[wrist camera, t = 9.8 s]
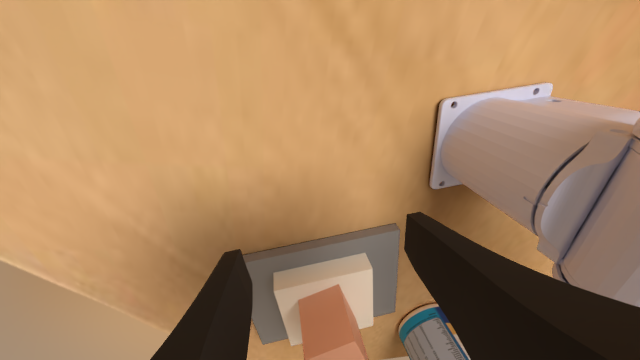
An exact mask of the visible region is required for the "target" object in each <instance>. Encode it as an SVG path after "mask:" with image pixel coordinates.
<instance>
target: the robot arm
mask: <svg viewBox="0 0 640 360" xmlns="http://www.w3.org/2000/svg"><path fill="white" fill-rule="evenodd" d="M552 89H553V85H552V83H546V82H545V83H539V84H532V85H526V86H520V87H514V88H508V89H501V90H495V91H489V92H483V93H477V94H470V95H464V96H458V97H452V98H446V99H444V100H442V101H441V103H440V105H439V112H438V120H437V128H436V136H435V144H434V152H433V160H432V168H431V177H430V187H431V188H432V189H440V188H445V187H450V186H455V185H460V184H464V185H465V186H467V187H468V188H470V189H471V190H472V191H474V192H475V193H477V194H478V195H480V196H481V197H482V198H484V199H485V200H487V201H488V202H490V203H491V204H492V205H494V206H495V207H497V208H498V209H500V210H501V211H503V212H504V213H505V214H507V215H508V216H510V217H511V218H513V219H514V220H515V221H517V222H518V223H520V224H521V225H523V226H524V227H525V228H527V229H528V230H530V231H531V232H533V233H534V234H535V235H537V236H538V237H539V243H538V246H537V250H539V251H540V252H541V253H543V254H544V255H545V256H547V257H548V258H549V259H551V260H552V261H553V262H554V264H553V268H552V274H553V278H552V277H549V276H547V275H544V274H542V273H539V272H537V271H534V270H532V269H530V268H527V267H525V266H523V265H520V264H518V263H516V262H513V261H511V260H509V259H507V258H505V257H503V256H500V255H498V254H496V253H494V252H492V251H490V250H488V249H486V248H484V247H482V246H481V245H479V244H477V243H475V242H473V241H471V240H469V239H467V238H466V237H464V236H462V235H460V234H458V233H457V232H455V231H453V230H451V229H450V228H448V227H446V226H444V225H443V224H441V223H439V222H437V221H436V220H434V219H432V218H430V217H429V216H427V215H425V214H423V213H421V212H417V213H412V214H407V219H406V232H405V245H404V250H405V252H406V254H407V256H408V258H409V260H410V262H411V264H412V266H413V267H414V269H415V271H416V273H417V274H418V276H419V277H420V279H421V280H422V282H423V283H424V285H425V286H426V288H427V289H428V291H429V292H430V294H431V295H432V297H433V298H434V300H435V301H436V302H437V304H438V305H439V307H440V308H441V310H442V311H443V313H444V314H445V316H446V317H447V319H448V320H449V322H450V324H451V325H452V327H453V328H454V330H455V332H456V334H457V336H458V337H459V339H460V341H461V343H462V345H463V346H464V348H465V350H466V352H467V354H468V355H469V357H470V359H471V360H640V111H635V110H629V109H623V108H617V107H611V106H605V105H599V104H593V103H587V102H581V101H575V100H569V99H563V98H557V97H551V96H550V95H551V92H552ZM533 91H534V92H533ZM453 102H454V105H453V106H452V107H451V104H452V103H453ZM440 182H442V183H441V184H440ZM252 306H253V283H252V280H251V277H250V275H249V272H248V269H247V267H246V264H245V261H244V259H243V256H242V253H241V251H240V249H239V250H234V251H229V252H225V253H224V254H223V256H222V257H221V259H220V260H219V262H218V264H217V265H216V267H215V269H214V270H213V272H212V274H211V275H210V277H209V278H208V280H207V282H206V283H205V285H204V286H203V288H202V289H201V291H200V292H199V294H198V295H197V297H196V299H195V300H194V302H193V303H192V305H191V306H190V307H189V309H188V310H187V312H186V313H185V314H184V316H183V317H182V319H181V320H180V322H179V323H178V324H177V326H176V327H175V329H174V330H173V331H172V333H171V334H170V335H169V337H168V338H167V339H166V340H165V342H164V343H163V345H162V346H161V347H160V348H159V349H158V351H157V352H156V353H155V354H154V356H153V357H152V358H151V359H150V360H246V359H247V351H248V342H249V334H250V325H251V317H252Z"/></svg>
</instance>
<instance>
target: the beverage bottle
mask: <svg viewBox="0 0 640 360" xmlns="http://www.w3.org/2000/svg"><path fill="white" fill-rule="evenodd" d="M399 337H400V339H401V341H402V343H403V345H404V347H405V349H406V351H407V353H408V356H409V358H410V360H471V359H470V357H469V355H468V354H467V352H466V350H465V348H464V346H463V345H462V343H461V341H460V339H459V337H458V336H457V334H456V332H455V330H454V328H453V327H452V325H451V324H450V322H449V320H448V319H447V317H446V316H445V314H444V313H443V311H442V310H441V308H440V307H439V305H438V304H437V303H436V304H429V305H425V306H422V307H420V308H418V309H416V310H414V311H412V312H411V313H410V314H408V315H407V316H406V317H405V318H404V319H403V320H402V322H401V324H400V326H399Z"/></svg>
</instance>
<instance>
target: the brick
mask: <svg viewBox="0 0 640 360" xmlns="http://www.w3.org/2000/svg"><path fill="white" fill-rule="evenodd" d="M298 304H299V313H300V323H301V332H302V342H303V351H304V360H369V359H368V356H367V353H366V350H365V346H364V343H363V340H362V337H361V334H360V330H359V327H358V324H357V321H356V318H355V316H354V314H353V312H352V310H351V308H350V306H349V304H348V302H347V300H346V298H345V296H344V294H343V292H342V290H341V288H340V286H339V284H337V285H335V286H332V287H330V288H327V289H325V290H322V291H320V292H317V293H315V294H312V295H310V296H307V297H304V298H302V299H299V300H298Z"/></svg>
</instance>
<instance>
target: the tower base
mask: <svg viewBox="0 0 640 360" xmlns="http://www.w3.org/2000/svg"><path fill="white" fill-rule="evenodd" d="M399 239H400V229H399V228H398V226H397V225H396V223H394V224H389V225H385V226H380V227H375V228H370V229H366V230H361V231H356V232H351V233H347V234H342V235H337V236H332V237H327V238H323V239H318V240H313V241H308V242H304V243H299V244H294V245H289V246H285V247H280V248H275V249H270V250H266V251H261V252H256V253H251V254H247V255H242V256H243V259H244V261H245V264H246V267H247V269H248V272H249V275H250V277H251V280H252V283H253V306H252V317H251V318H252V320H253V323H254V325H255V327H256V330H257V332H258V334H259V337H260V339H261V341H262V344H263V345H264V344H268V343H272V342H276V341H280V340H284V339H288V338H289V341H290V344H291V346H294V345H298V344H302V343H303V342H302V332H301V323H300V313H299V304H298V300H299V299H302V298H304V297H307V296H310V295H312V294H315V293H317V292H320V291H322V290H325V289H327V288H330V287H332V286H335V285H337V284H339V286H340V288H341V290H342V292H343V294H344V296H345V298H346V300H347V302H348V304H349V306H350V308H351V310H352V312H353V314H354V316H355V318H356V321H357V324H358V327H359V329H362V328H366V327H370V326H373V317H377V316H381V315H385V314H389V313H393V312H395V304H396V288H397V272H398V255H399Z"/></svg>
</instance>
